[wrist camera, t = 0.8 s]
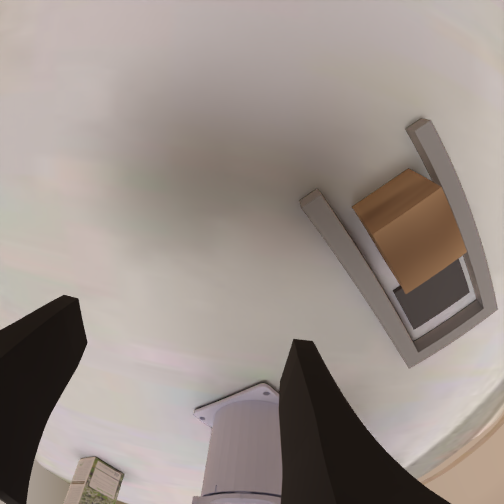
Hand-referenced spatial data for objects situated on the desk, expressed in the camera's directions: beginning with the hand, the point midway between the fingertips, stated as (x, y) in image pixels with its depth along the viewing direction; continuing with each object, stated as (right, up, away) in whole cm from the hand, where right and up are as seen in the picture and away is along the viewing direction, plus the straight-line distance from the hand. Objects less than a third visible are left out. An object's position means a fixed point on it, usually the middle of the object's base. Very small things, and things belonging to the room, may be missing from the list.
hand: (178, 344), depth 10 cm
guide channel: (+13, +3, +8) cm, 15 cm away
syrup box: (-21, -30, +26) cm, 45 cm away
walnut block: (+11, +5, +7) cm, 14 cm away
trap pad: (+15, 0, +9) cm, 17 cm away
